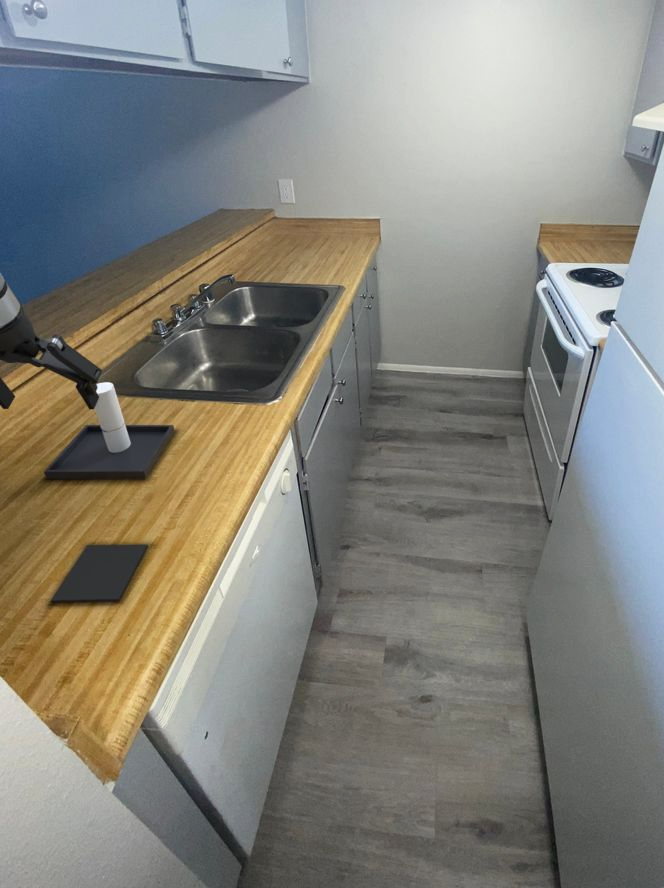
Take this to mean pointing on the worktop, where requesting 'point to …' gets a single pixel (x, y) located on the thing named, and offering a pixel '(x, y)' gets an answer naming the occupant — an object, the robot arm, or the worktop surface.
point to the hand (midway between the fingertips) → (52, 403)
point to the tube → (111, 418)
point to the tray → (111, 454)
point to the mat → (100, 574)
